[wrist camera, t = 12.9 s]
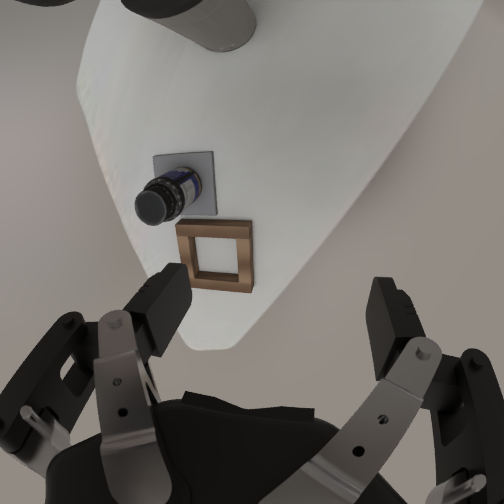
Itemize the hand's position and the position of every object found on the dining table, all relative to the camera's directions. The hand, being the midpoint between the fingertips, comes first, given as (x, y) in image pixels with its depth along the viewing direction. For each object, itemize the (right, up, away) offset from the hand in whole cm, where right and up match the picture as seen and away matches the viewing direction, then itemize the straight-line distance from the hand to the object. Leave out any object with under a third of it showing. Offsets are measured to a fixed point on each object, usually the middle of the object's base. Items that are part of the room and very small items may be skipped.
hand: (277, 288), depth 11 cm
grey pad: (-12, +12, +31) cm, 35 cm away
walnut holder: (-7, +1, +35) cm, 36 cm away
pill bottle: (-11, +12, +30) cm, 34 cm away
